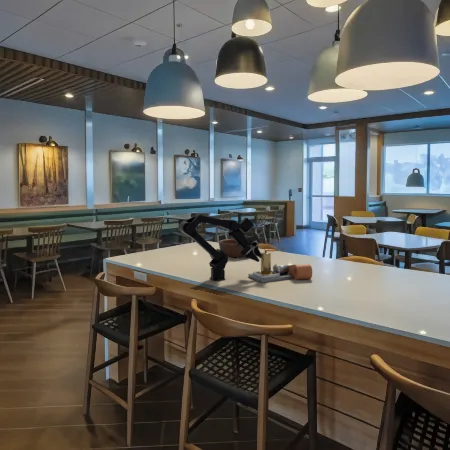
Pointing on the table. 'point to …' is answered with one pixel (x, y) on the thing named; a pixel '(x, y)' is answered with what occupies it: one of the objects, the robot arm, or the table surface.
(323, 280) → the table surface
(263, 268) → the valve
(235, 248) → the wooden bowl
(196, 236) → the robot arm
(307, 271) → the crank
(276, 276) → the socket plate
